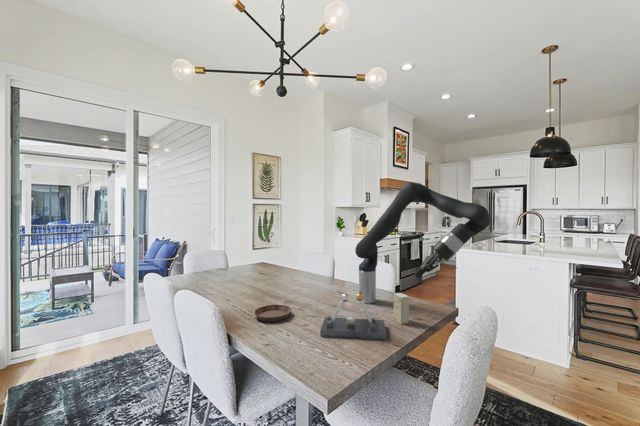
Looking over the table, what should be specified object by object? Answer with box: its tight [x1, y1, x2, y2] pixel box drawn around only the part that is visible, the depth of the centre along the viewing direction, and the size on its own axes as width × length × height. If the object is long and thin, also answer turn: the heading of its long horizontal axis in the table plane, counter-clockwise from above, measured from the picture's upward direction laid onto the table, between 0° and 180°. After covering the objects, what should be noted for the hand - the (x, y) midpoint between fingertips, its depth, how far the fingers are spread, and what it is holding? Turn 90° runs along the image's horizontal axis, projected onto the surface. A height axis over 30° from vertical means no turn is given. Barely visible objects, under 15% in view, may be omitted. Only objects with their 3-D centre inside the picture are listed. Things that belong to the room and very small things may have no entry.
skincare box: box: [392, 292, 410, 325], centre depth 134 cm, size 6×4×12 cm
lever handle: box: [355, 291, 373, 323], centre depth 123 cm, size 4×3×14 cm
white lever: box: [330, 292, 350, 323], centre depth 125 cm, size 4×3×14 cm
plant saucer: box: [253, 304, 292, 322], centre depth 142 cm, size 18×18×3 cm
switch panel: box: [319, 315, 387, 341], centre depth 124 cm, size 14×26×4 cm, turn 81°
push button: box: [346, 316, 356, 325], centre depth 124 cm, size 4×4×2 cm
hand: (416, 276), depth 120 cm, fingers closed
